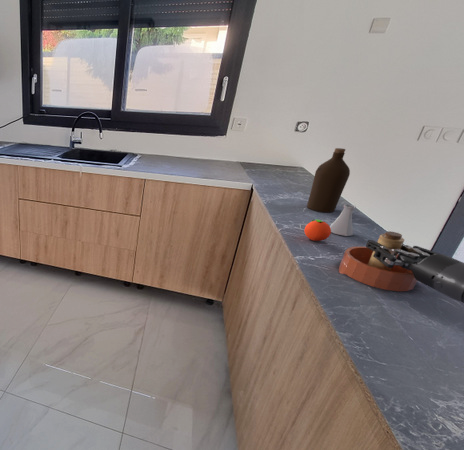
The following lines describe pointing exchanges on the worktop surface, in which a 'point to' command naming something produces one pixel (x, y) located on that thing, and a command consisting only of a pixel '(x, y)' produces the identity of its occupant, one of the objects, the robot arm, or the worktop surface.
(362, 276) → the pot
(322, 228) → the clementine
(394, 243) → the pepper mill
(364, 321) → the worktop surface
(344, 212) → the flask
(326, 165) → the olive oil
